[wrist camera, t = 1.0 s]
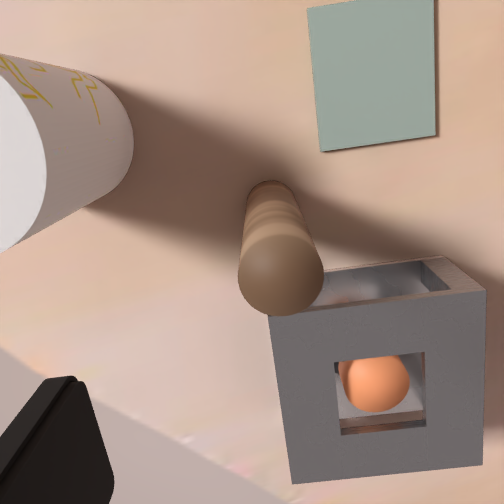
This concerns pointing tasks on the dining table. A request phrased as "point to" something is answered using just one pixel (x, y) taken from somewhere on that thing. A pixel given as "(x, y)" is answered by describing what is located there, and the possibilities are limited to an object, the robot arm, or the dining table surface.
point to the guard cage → (379, 345)
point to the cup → (55, 145)
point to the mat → (373, 71)
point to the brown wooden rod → (277, 253)
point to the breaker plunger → (374, 382)
